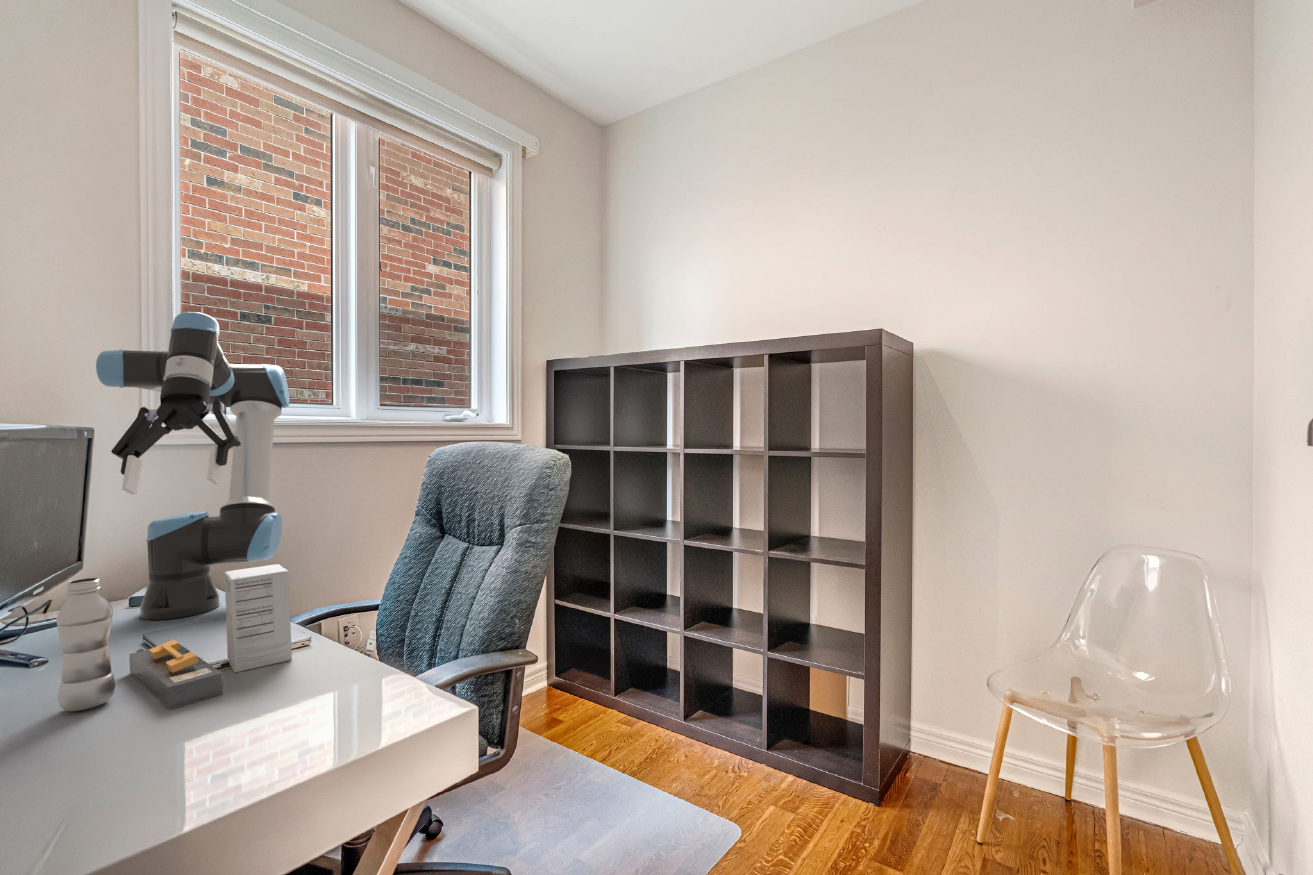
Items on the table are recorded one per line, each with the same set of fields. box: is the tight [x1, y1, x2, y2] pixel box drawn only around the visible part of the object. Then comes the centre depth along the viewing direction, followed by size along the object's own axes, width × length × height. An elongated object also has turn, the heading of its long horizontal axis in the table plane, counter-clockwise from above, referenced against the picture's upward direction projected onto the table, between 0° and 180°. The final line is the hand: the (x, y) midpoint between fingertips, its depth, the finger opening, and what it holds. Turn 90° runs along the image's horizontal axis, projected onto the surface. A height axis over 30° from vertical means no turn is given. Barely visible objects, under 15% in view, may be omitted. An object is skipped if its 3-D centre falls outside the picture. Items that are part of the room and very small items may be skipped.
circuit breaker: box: [128, 643, 224, 711], centre depth 109 cm, size 34×7×4 cm, turn 52°
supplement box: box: [223, 563, 293, 673], centre depth 116 cm, size 10×9×17 cm
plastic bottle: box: [55, 577, 116, 712], centre depth 97 cm, size 6×7×20 cm
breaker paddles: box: [149, 639, 199, 673], centre depth 106 cm, size 13×4×2 cm, turn 52°
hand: (171, 486), depth 111 cm, fingers open, 13 cm apart
